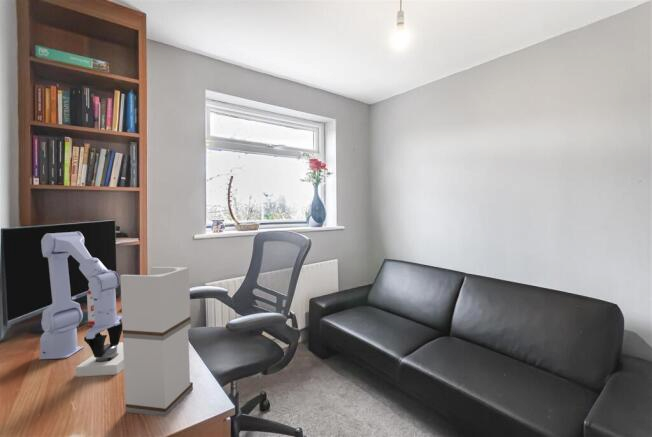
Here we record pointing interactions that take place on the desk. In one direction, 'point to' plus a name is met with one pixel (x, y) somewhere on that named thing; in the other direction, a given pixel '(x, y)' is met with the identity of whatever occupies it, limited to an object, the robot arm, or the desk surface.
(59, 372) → the desk surface
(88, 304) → the beer can
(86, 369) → the plate
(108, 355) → the cylinder
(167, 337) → the tall white square container
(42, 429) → the desk surface
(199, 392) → the desk surface
